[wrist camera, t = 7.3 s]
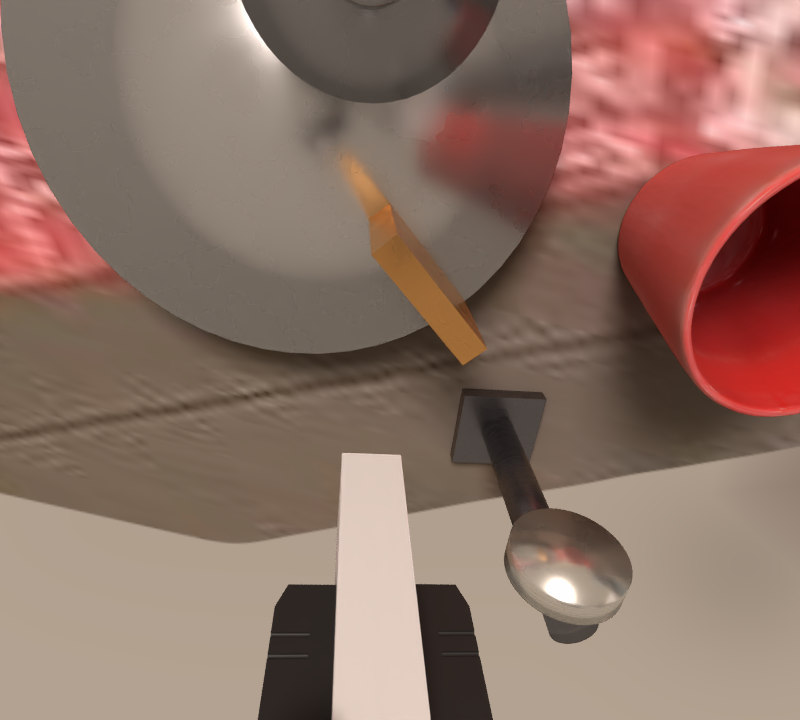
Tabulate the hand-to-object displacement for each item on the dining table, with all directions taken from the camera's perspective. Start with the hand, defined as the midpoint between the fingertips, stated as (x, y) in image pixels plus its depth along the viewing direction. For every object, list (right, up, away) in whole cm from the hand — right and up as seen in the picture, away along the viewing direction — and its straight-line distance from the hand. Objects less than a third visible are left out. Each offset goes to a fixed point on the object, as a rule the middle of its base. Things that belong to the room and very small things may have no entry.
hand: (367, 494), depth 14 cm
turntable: (-3, +15, +9) cm, 17 cm away
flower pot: (+16, +11, +15) cm, 24 cm away
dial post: (+7, 0, +20) cm, 21 cm away
